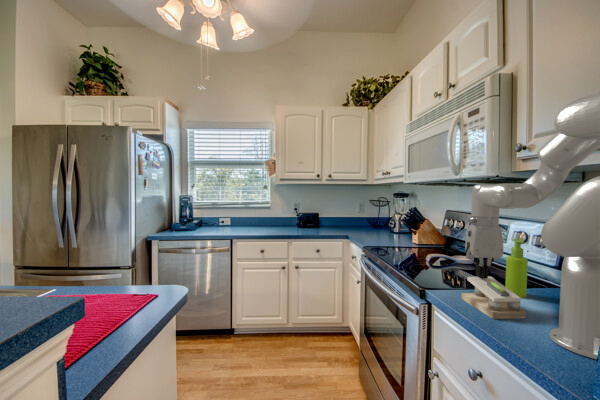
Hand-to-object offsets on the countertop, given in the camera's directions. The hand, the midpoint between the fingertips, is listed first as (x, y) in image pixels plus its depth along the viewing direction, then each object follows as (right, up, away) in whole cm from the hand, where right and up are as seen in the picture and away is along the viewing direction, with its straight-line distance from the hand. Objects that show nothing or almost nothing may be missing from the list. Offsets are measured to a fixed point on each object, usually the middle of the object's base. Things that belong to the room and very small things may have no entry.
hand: (481, 277), depth 89 cm
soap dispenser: (+17, -9, +7) cm, 20 cm away
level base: (0, -9, -4) cm, 9 cm away
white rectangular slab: (0, -3, -4) cm, 5 cm away
